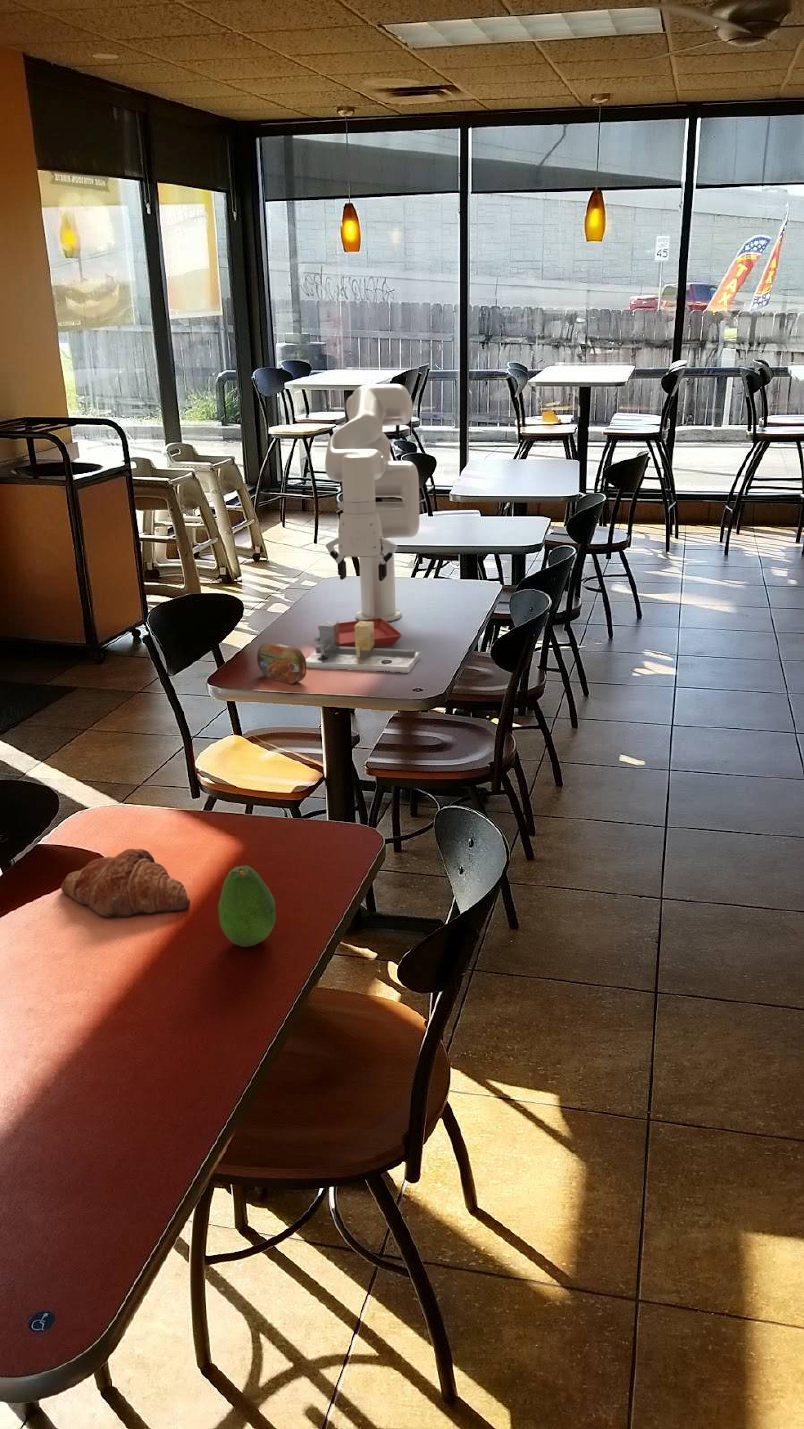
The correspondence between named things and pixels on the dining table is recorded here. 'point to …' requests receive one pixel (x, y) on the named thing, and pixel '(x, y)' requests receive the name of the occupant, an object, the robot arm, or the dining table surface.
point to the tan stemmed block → (364, 636)
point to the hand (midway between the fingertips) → (362, 579)
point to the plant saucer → (382, 633)
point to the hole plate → (346, 657)
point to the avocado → (246, 907)
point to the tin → (281, 662)
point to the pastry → (126, 886)
